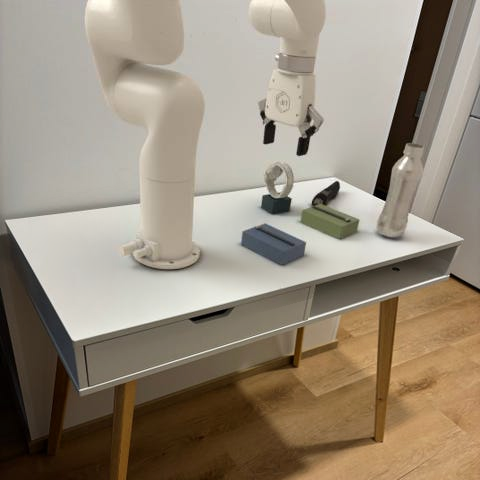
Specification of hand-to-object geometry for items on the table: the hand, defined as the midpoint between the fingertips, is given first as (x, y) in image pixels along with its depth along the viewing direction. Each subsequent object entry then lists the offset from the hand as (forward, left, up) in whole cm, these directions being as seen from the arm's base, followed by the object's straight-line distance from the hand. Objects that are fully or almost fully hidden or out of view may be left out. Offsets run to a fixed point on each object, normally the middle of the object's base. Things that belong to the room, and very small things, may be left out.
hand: (284, 149), depth 110 cm
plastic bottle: (+11, -25, -14) cm, 31 cm away
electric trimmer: (+17, -3, -14) cm, 22 cm away
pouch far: (+2, -14, -14) cm, 20 cm away
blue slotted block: (-18, -14, -14) cm, 27 cm away
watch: (0, 0, -14) cm, 14 cm away
